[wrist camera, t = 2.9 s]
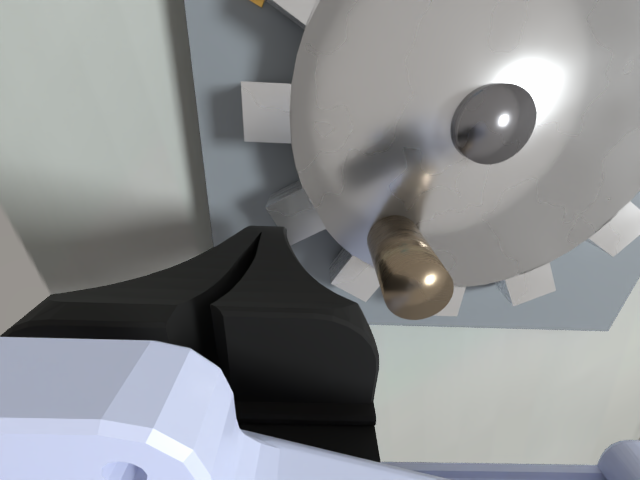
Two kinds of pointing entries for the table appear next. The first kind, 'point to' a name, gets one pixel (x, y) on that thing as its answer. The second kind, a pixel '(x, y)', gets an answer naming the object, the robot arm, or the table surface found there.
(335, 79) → the sprocket
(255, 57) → the base plate
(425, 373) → the table surface
